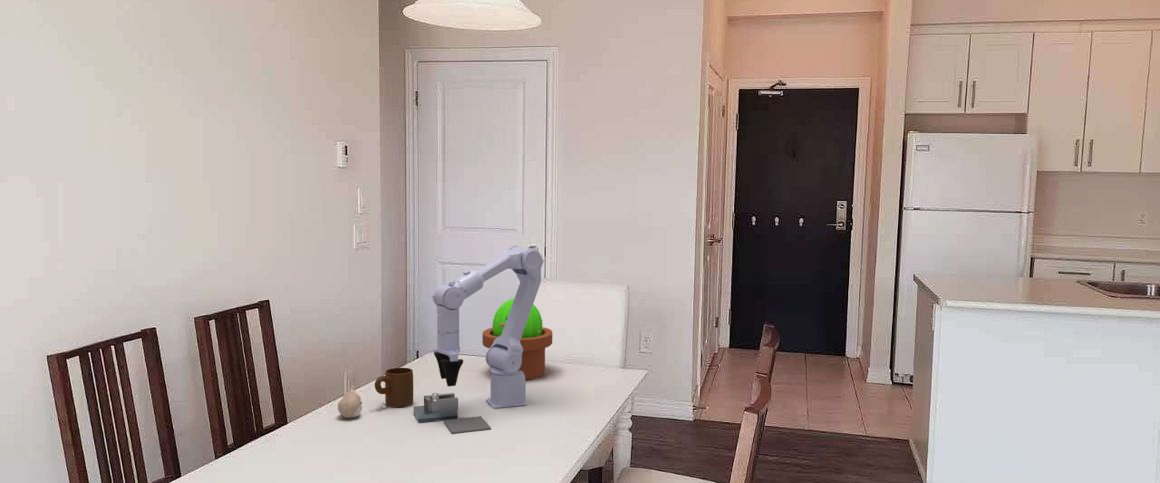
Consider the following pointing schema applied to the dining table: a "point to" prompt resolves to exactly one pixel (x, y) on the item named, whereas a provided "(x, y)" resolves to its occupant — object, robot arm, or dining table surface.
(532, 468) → the dining table surface
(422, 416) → the metal base with post
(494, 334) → the potted cactus
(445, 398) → the gray tabletop stand
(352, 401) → the garlic bulb
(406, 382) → the mug
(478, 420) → the mat
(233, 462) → the dining table surface
